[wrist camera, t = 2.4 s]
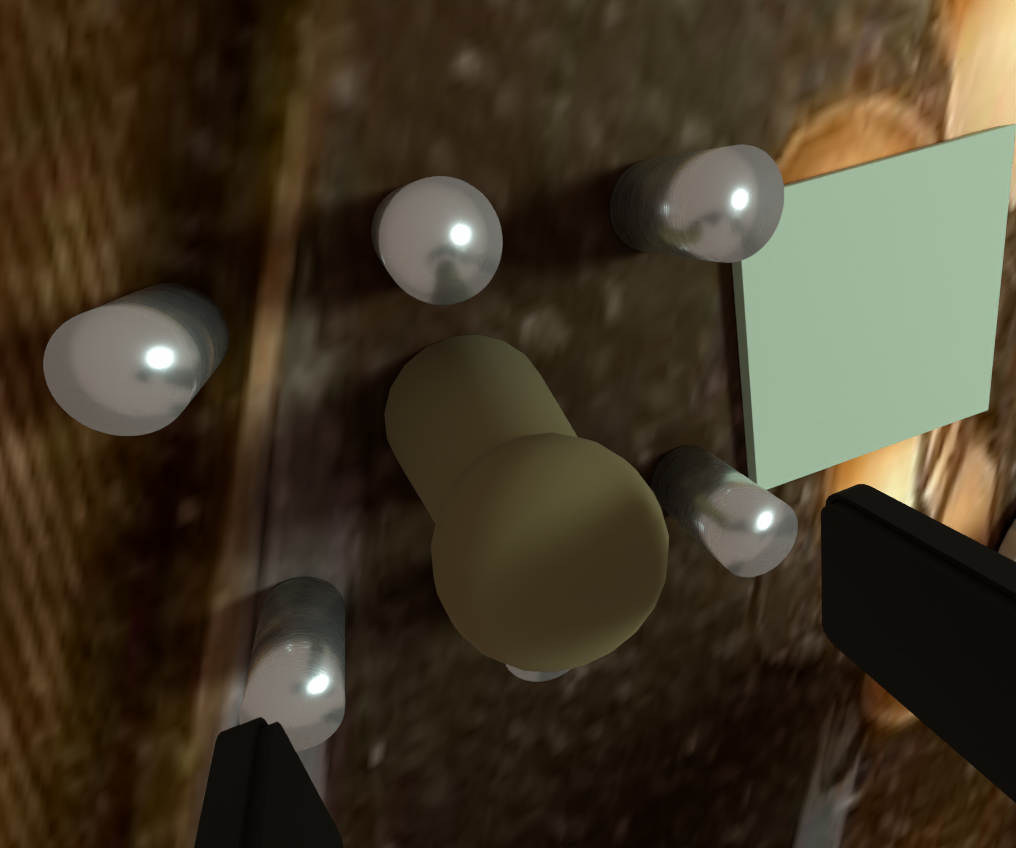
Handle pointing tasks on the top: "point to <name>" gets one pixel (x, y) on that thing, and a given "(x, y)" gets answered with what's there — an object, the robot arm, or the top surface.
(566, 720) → the top surface
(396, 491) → the top surface
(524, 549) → the olive rounded piece
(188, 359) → the spacer field
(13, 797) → the top surface
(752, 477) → the mat
